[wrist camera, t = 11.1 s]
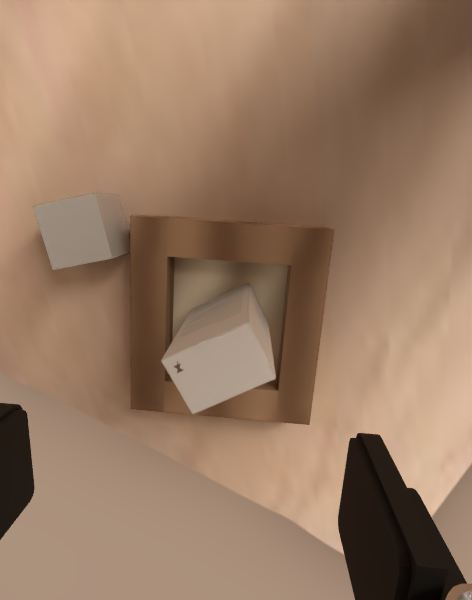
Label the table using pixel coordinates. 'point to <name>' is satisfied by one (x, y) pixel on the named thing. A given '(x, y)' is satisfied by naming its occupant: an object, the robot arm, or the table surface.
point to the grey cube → (83, 229)
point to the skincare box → (221, 350)
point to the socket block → (217, 281)
